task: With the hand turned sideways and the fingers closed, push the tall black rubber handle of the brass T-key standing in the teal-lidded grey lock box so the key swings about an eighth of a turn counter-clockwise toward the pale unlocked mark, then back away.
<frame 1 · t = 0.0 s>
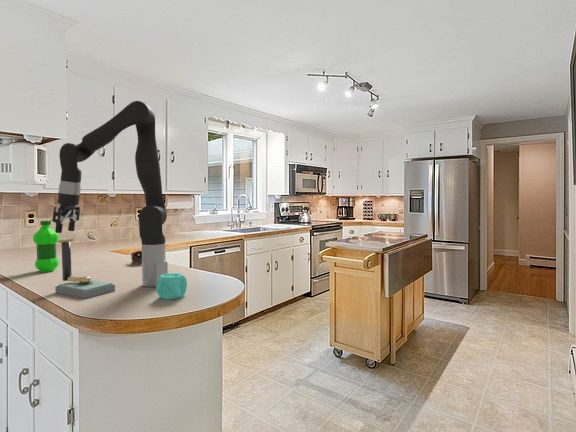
hand: (65, 231, 142), 22 cm above the countertop, tool pointing down, fingers open, 8 cm apart
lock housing: (85, 291, 133), on the countertop
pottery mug: (139, 264, 192), on the countertop
plastic bottle: (47, 271, 172), on the countertop
t key: (75, 260, 134), point 12 cm above the countertop, hinge at 0.0°
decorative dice: (172, 297, 127), on the countertop
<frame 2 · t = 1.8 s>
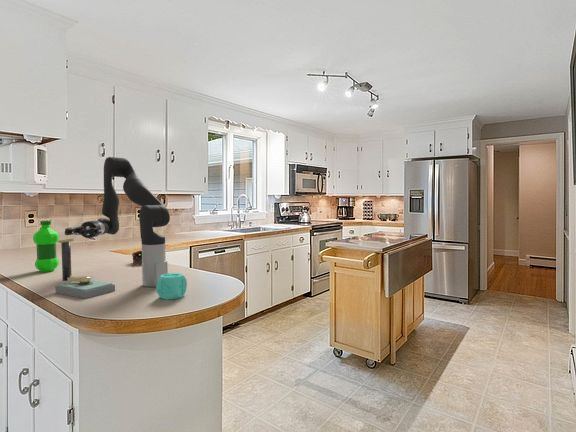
hand: (73, 232, 142), 22 cm above the countertop, tool horizontal, fingers open, 5 cm apart
t key: (75, 260, 134), point 12 cm above the countertop, hinge at 0.4°
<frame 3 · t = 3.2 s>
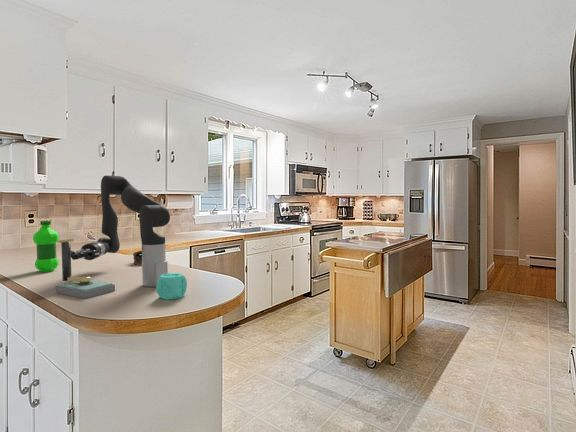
hand: (74, 257, 142), 12 cm above the countertop, tool horizontal, fingers closed
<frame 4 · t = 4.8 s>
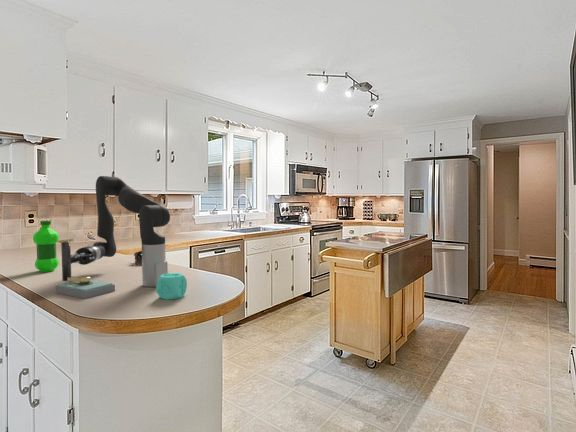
hand: (67, 261, 137), 11 cm above the countertop, tool horizontal, fingers closed
t key: (75, 260, 134), point 12 cm above the countertop, hinge at 0.7°, touching gripper
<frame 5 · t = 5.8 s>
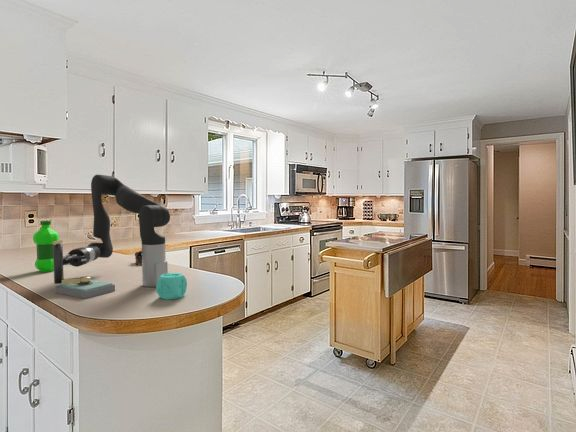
hand: (57, 263, 132), 11 cm above the countertop, tool horizontal, fingers closed
t key: (72, 261, 132), point 12 cm above the countertop, hinge at 30.3°, touching gripper
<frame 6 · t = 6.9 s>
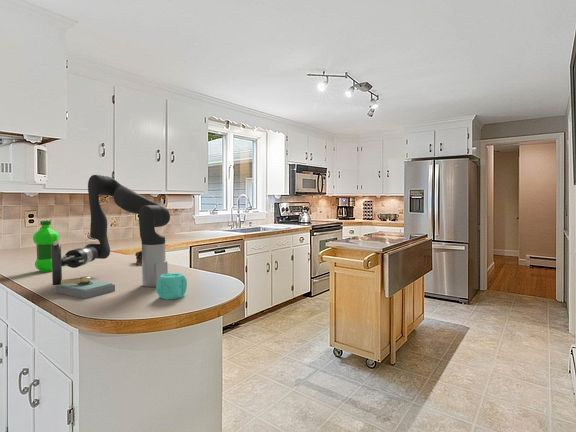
hand: (54, 265, 130), 11 cm above the countertop, tool horizontal, fingers closed
t key: (71, 262, 131), point 12 cm above the countertop, hinge at 44.9°, touching gripper
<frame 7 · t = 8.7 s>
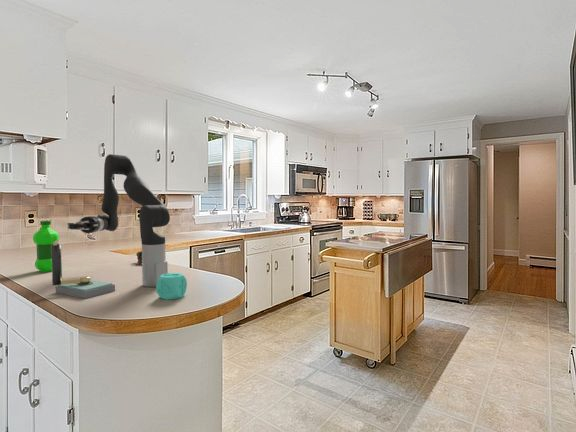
hand: (72, 226, 142), 25 cm above the countertop, tool horizontal, fingers closed
t key: (71, 262, 131), point 12 cm above the countertop, hinge at 45.0°
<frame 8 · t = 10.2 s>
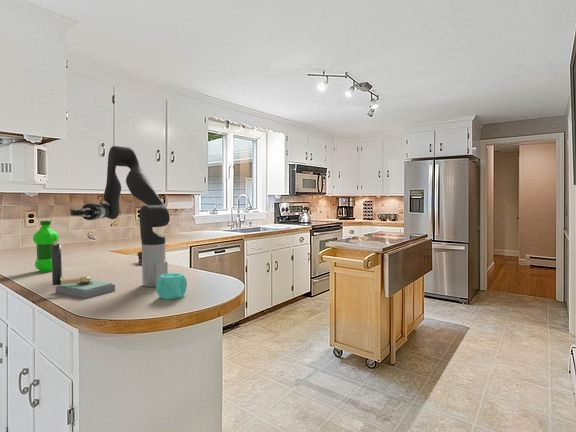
hand: (74, 213, 143), 30 cm above the countertop, tool horizontal, fingers closed
at the end: t key at +45° (first picture: +0°); the gripper is holding nothing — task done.
